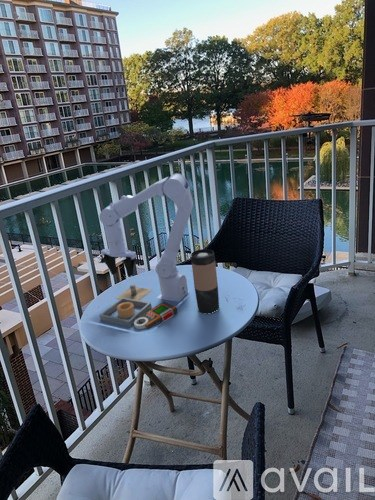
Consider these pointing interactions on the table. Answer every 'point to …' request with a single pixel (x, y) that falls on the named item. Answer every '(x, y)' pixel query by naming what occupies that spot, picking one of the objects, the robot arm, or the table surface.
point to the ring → (125, 310)
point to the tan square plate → (134, 293)
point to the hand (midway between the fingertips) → (122, 274)
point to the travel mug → (205, 280)
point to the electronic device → (155, 315)
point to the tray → (129, 323)
